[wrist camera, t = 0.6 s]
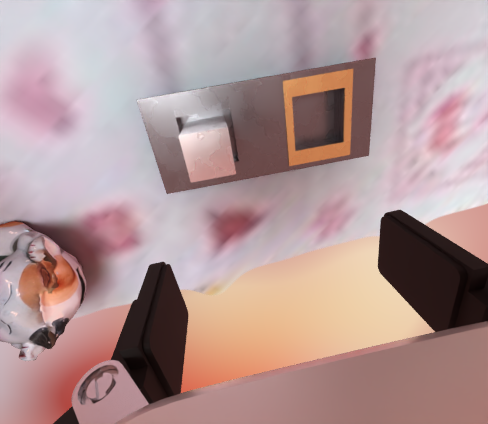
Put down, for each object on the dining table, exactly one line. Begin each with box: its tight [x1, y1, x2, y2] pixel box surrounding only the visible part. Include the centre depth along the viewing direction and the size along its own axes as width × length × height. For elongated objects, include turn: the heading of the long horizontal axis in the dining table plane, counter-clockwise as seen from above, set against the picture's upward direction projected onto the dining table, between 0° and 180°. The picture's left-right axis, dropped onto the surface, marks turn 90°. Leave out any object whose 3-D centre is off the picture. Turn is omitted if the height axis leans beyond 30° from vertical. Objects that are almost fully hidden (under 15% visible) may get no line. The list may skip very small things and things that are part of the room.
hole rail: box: [137, 58, 376, 194], centre depth 29 cm, size 10×24×3 cm, turn 99°
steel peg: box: [178, 115, 236, 183], centre depth 25 cm, size 4×4×9 cm
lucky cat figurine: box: [0, 221, 86, 361], centre depth 29 cm, size 15×12×14 cm
